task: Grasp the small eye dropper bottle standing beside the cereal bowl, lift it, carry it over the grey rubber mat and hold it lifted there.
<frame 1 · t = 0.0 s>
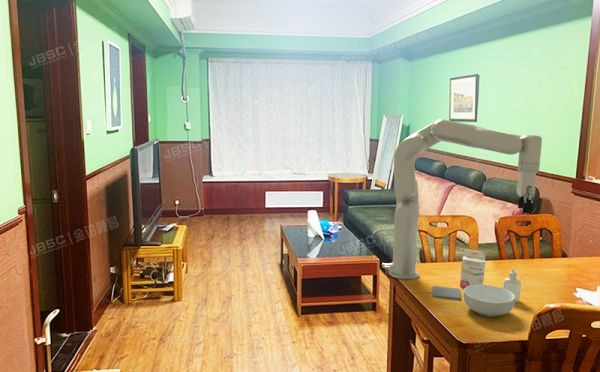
hand: (524, 210, 183), 31 cm above the table, tool pointing down, fingers open, 9 cm apart
ink cartridge box: (471, 287, 187), on the table
cereal bowl: (487, 312, 163), on the table
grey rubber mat: (446, 293, 179), on the table
eye dropper bottle: (510, 300, 174), on the table
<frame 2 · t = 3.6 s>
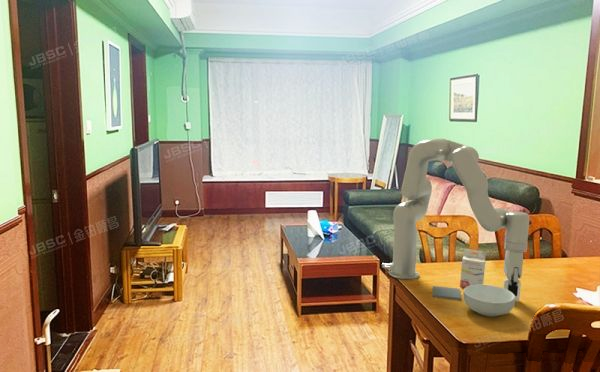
hand: (511, 292, 174), 3 cm above the table, tool pointing down, fingers closed on eye dropper bottle, 3 cm apart
eye dropper bottle: (510, 300, 174), on the table, touching gripper
everything else where it was.
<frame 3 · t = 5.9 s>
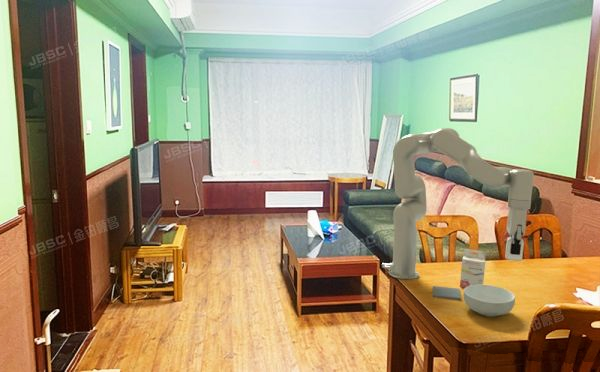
hand: (514, 252, 171), 18 cm above the table, tool pointing down, fingers closed on eye dropper bottle, 3 cm apart
eye dropper bottle: (513, 260, 172), point 15 cm above the table, touching gripper
everything else where it was.
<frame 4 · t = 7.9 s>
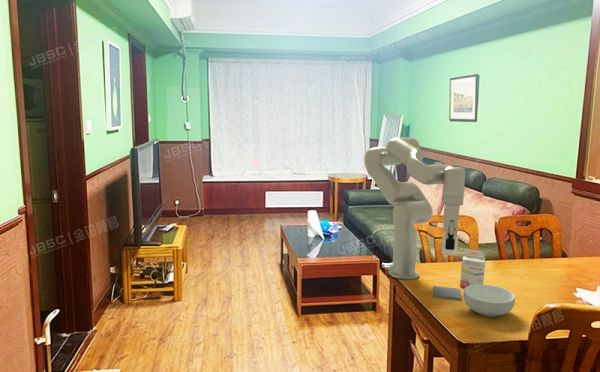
hand: (449, 247, 176), 18 cm above the table, tool pointing down, fingers closed on eye dropper bottle, 3 cm apart
eye dropper bottle: (449, 254, 177), point 15 cm above the table, touching gripper
everything else where it was.
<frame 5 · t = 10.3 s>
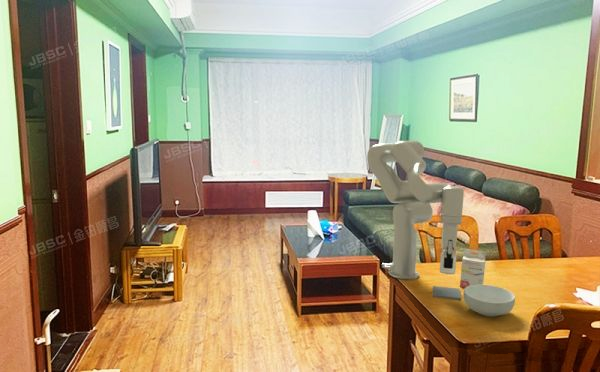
hand: (447, 265, 178), 11 cm above the table, tool pointing down, fingers closed on eye dropper bottle, 3 cm apart
eye dropper bottle: (447, 273, 178), point 8 cm above the table, touching gripper
everything else where it was.
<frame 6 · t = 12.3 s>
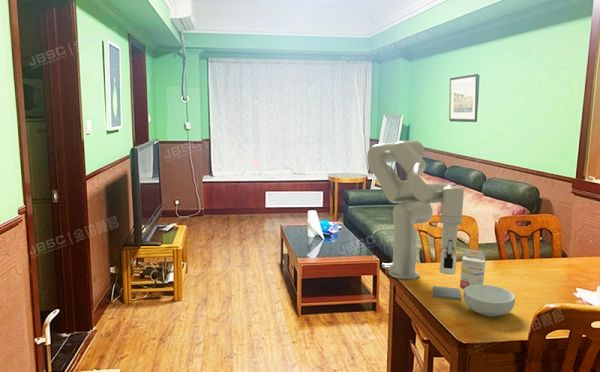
hand: (447, 265, 178), 11 cm above the table, tool pointing down, fingers closed on eye dropper bottle, 3 cm apart
eye dropper bottle: (447, 273, 178), point 8 cm above the table, touching gripper
everything else where it was.
at the end: the gripper is holding eye dropper bottle; eye dropper bottle point 8.1 cm above the table; eye dropper bottle 0.2 cm from the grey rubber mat (horizontally) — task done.
